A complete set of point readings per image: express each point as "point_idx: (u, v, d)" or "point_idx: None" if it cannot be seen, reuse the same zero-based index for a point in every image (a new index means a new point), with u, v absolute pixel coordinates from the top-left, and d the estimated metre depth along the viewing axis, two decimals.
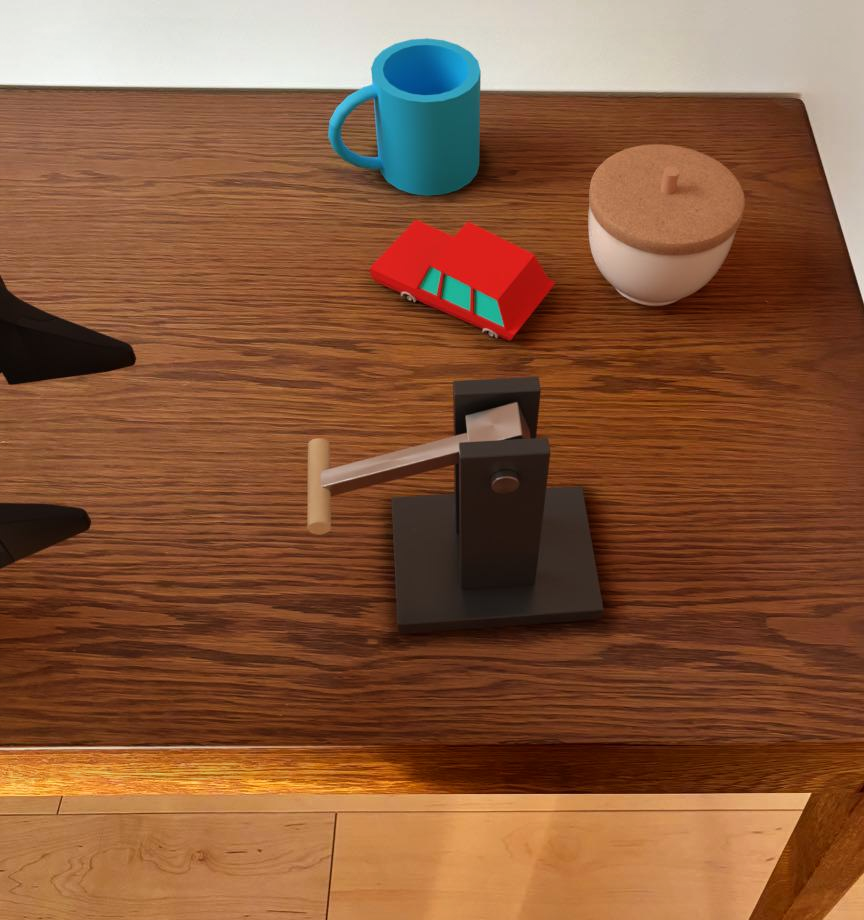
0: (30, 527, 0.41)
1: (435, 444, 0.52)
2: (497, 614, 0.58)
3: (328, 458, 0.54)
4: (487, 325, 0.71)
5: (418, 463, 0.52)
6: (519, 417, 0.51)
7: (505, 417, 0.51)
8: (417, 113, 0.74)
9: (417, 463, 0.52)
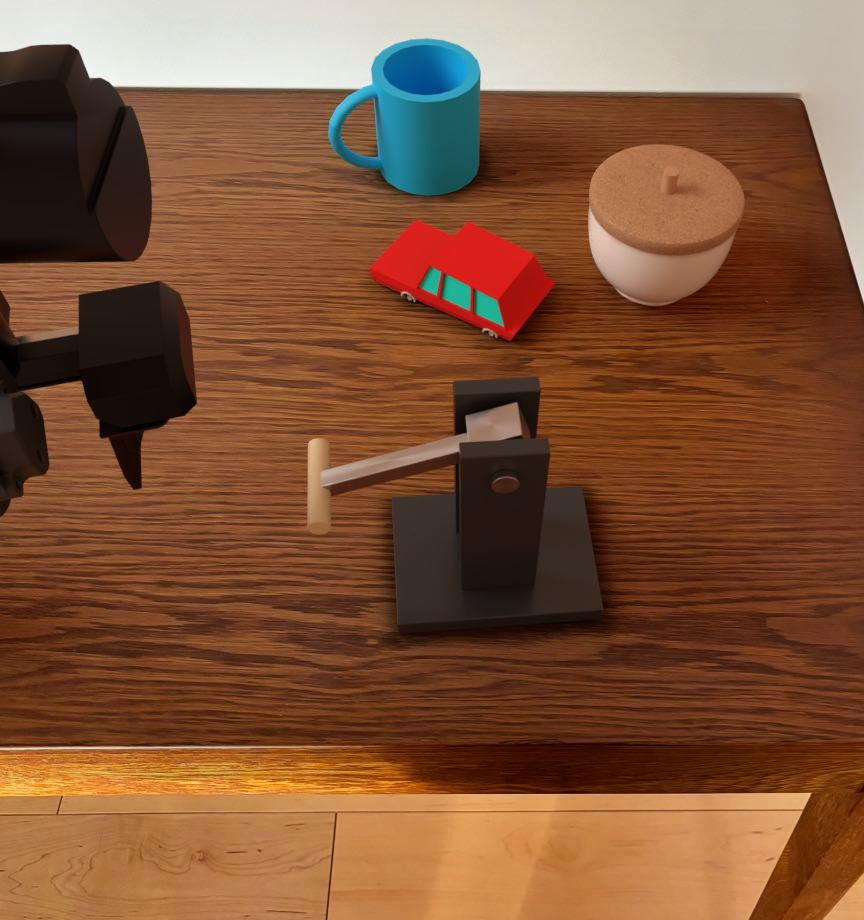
0: None
1: (435, 444, 0.52)
2: (497, 614, 0.58)
3: (328, 458, 0.54)
4: (487, 325, 0.71)
5: (418, 463, 0.52)
6: (519, 417, 0.51)
7: (505, 417, 0.51)
8: (417, 113, 0.74)
9: (417, 463, 0.52)
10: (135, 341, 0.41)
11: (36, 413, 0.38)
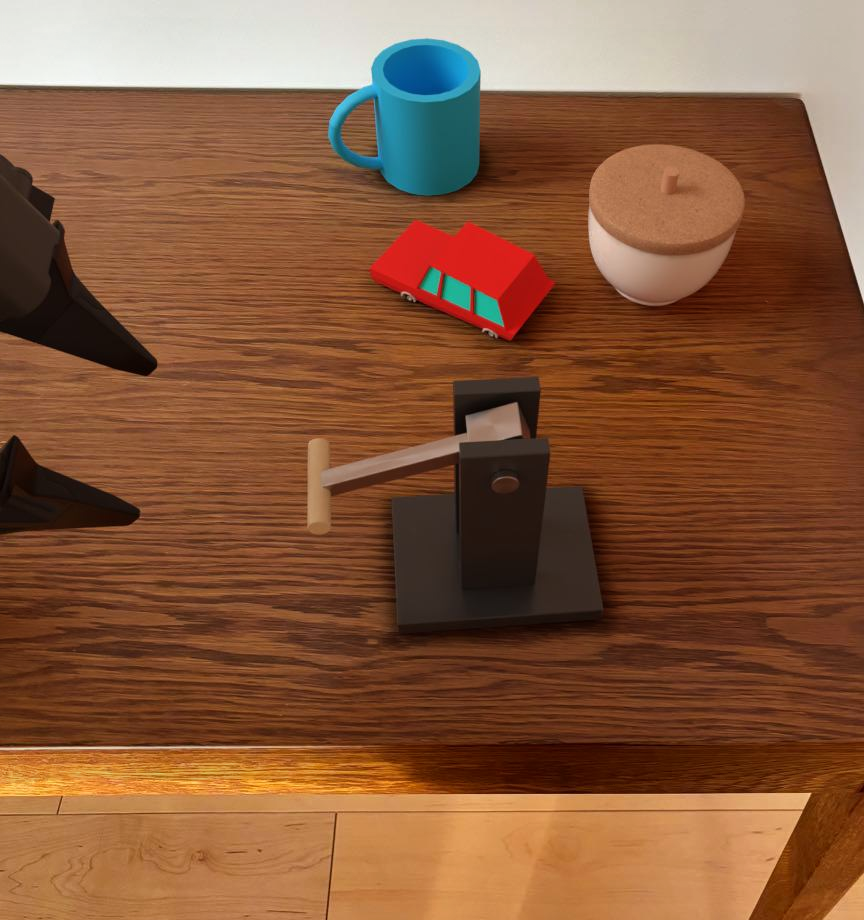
0: (97, 512, 0.45)
1: (435, 444, 0.52)
2: (497, 614, 0.58)
3: (328, 458, 0.54)
4: (487, 325, 0.71)
5: (418, 463, 0.52)
6: (519, 417, 0.51)
7: (505, 417, 0.51)
8: (417, 113, 0.74)
9: (417, 463, 0.52)
10: None
11: None
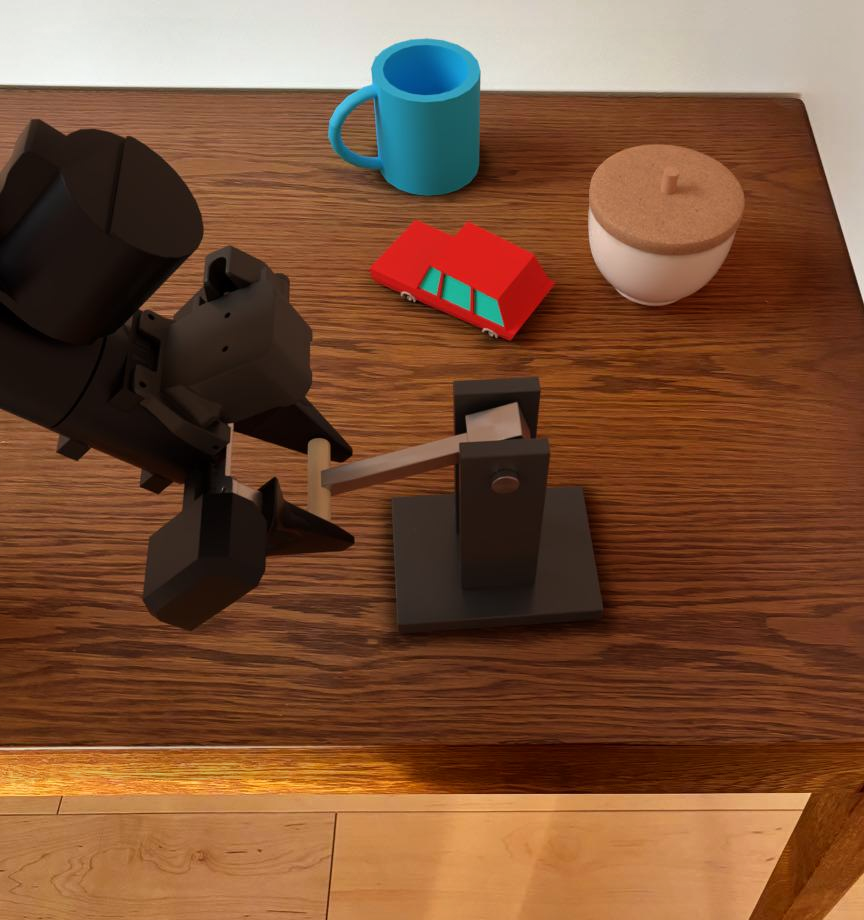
0: (324, 540, 0.51)
1: (435, 444, 0.52)
2: (497, 614, 0.58)
3: (328, 458, 0.54)
4: (487, 325, 0.71)
5: (418, 463, 0.52)
6: (519, 417, 0.51)
7: (505, 417, 0.51)
8: (417, 113, 0.74)
9: (417, 463, 0.52)
10: None
11: None
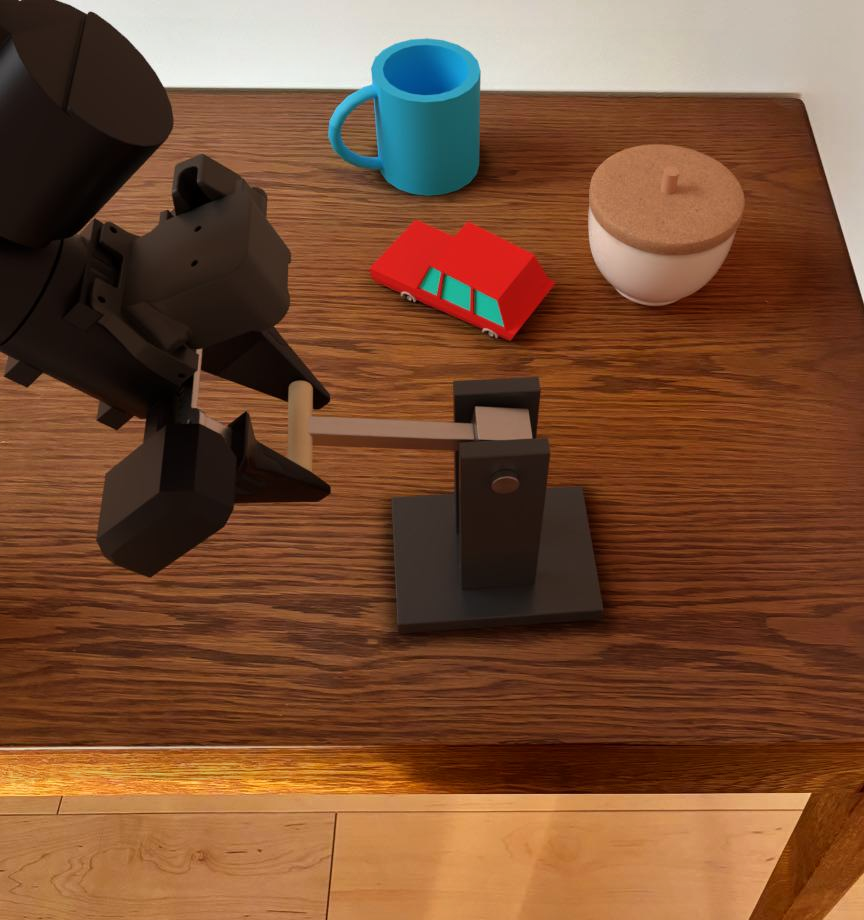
0: (298, 487, 0.47)
1: (436, 425, 0.51)
2: (497, 614, 0.58)
3: (312, 405, 0.50)
4: (487, 325, 0.71)
5: (417, 438, 0.50)
6: (529, 424, 0.51)
7: (516, 420, 0.51)
8: (417, 113, 0.74)
9: (415, 438, 0.50)
10: None
11: None
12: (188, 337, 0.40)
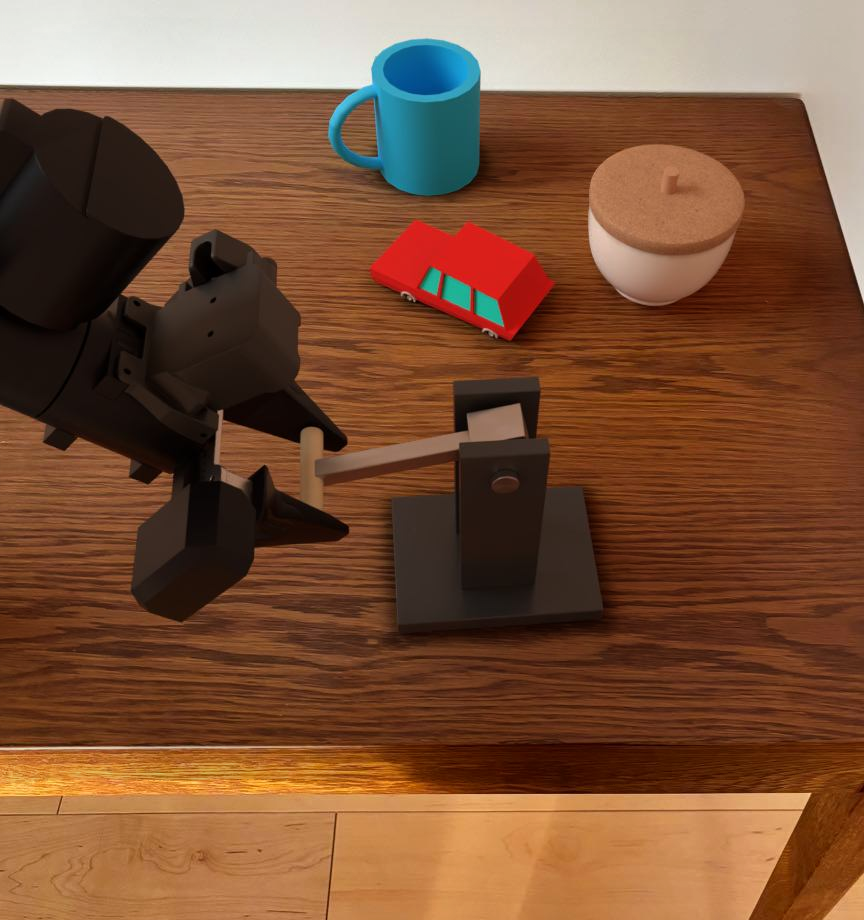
0: (318, 529, 0.50)
1: (434, 440, 0.52)
2: (497, 614, 0.58)
3: (322, 448, 0.53)
4: (487, 325, 0.71)
5: (416, 458, 0.52)
6: (522, 418, 0.51)
7: (508, 417, 0.51)
8: (417, 114, 0.74)
9: (415, 458, 0.52)
10: None
11: None
12: (208, 401, 0.43)
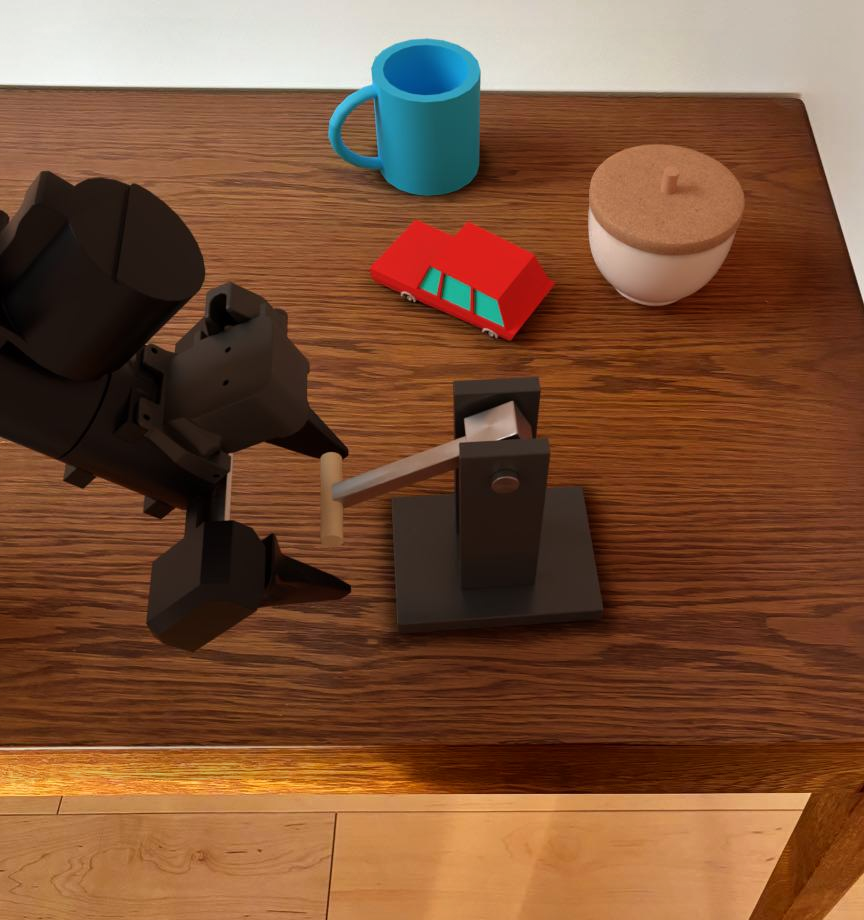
0: (321, 590, 0.52)
1: (437, 449, 0.52)
2: (497, 614, 0.58)
3: (339, 471, 0.55)
4: (487, 325, 0.71)
5: (421, 469, 0.52)
6: (515, 416, 0.51)
7: (501, 417, 0.51)
8: (417, 114, 0.74)
9: (421, 470, 0.52)
10: None
11: None
12: (221, 445, 0.46)
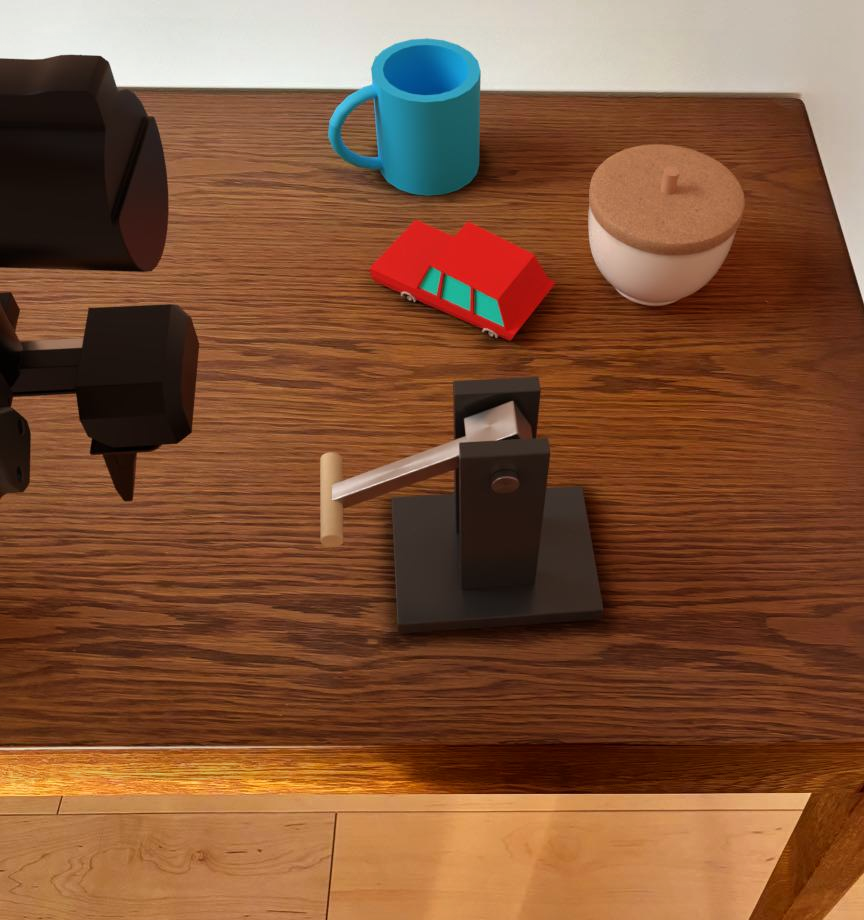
0: None
1: (437, 449, 0.52)
2: (497, 614, 0.58)
3: (339, 471, 0.55)
4: (487, 325, 0.71)
5: (421, 469, 0.52)
6: (515, 416, 0.51)
7: (501, 417, 0.51)
8: (417, 113, 0.74)
9: (421, 470, 0.52)
10: (136, 364, 0.40)
11: (23, 429, 0.37)
12: None
